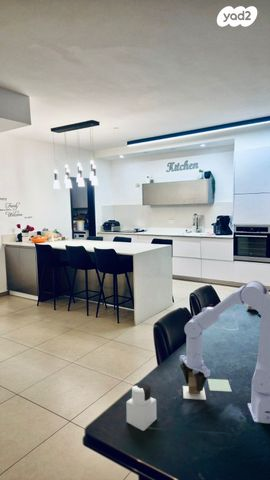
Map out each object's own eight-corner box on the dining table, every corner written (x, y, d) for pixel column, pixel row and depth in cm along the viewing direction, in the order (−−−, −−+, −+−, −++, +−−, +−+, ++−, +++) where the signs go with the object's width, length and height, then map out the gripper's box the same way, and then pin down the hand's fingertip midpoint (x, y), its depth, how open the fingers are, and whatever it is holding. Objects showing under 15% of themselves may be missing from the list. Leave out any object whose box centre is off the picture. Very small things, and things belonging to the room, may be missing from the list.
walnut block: (200, 393, 114) (200, 378, 114) (189, 393, 115) (189, 377, 114) (199, 387, 118) (199, 372, 118) (188, 387, 119) (188, 372, 118)
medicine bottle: (139, 411, 107) (139, 377, 106) (156, 419, 102) (156, 385, 101) (126, 422, 101) (125, 387, 100) (143, 432, 97) (143, 395, 96)
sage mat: (231, 392, 117) (231, 391, 117) (209, 391, 118) (209, 390, 118) (227, 380, 125) (227, 379, 125) (207, 379, 126) (207, 378, 126)
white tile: (206, 400, 112) (206, 399, 112) (183, 399, 113) (183, 398, 113) (203, 388, 120) (203, 386, 120) (182, 386, 121) (182, 385, 121)
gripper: (216, 356, 111) (216, 392, 112) (189, 342, 123) (189, 374, 124) (201, 361, 107) (201, 399, 109) (175, 346, 120) (175, 380, 121)
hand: (194, 386), depth 116 cm, fingers closed on walnut block, 6 cm apart
